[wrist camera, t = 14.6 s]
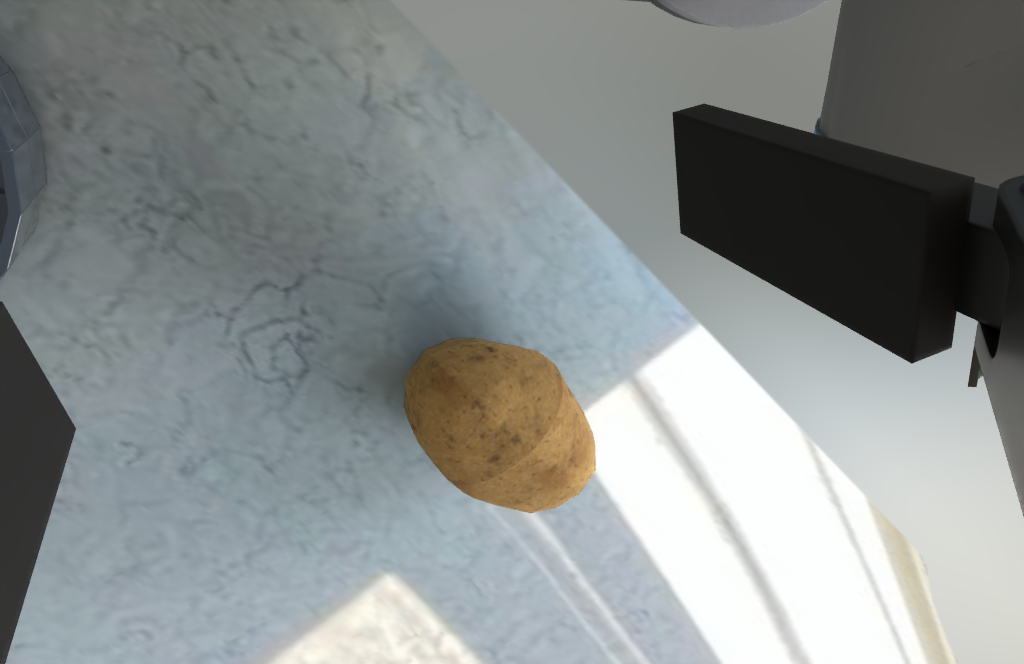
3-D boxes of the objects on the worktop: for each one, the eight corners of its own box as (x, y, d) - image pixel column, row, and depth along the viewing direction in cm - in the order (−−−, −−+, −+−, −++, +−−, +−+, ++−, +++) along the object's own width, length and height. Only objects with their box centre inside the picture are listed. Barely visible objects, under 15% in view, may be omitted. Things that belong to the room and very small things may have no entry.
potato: (458, 268, 45) (502, 321, 38) (590, 392, 52) (646, 455, 45) (346, 382, 45) (369, 454, 38) (492, 488, 53) (533, 564, 46)
